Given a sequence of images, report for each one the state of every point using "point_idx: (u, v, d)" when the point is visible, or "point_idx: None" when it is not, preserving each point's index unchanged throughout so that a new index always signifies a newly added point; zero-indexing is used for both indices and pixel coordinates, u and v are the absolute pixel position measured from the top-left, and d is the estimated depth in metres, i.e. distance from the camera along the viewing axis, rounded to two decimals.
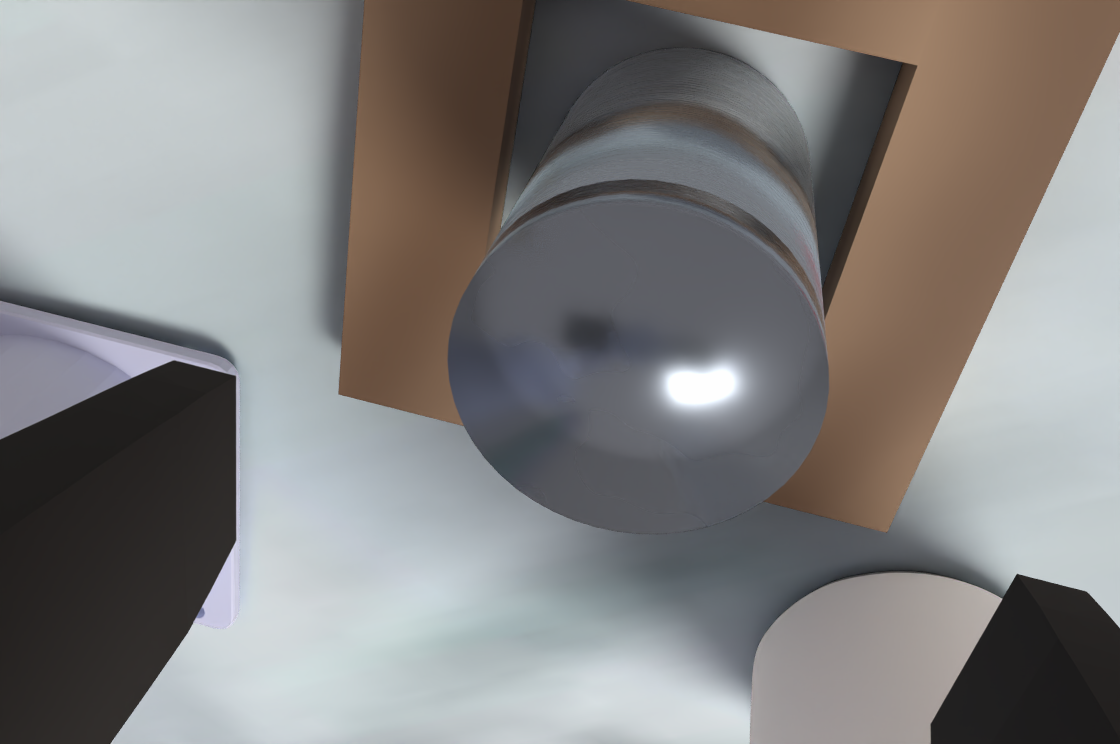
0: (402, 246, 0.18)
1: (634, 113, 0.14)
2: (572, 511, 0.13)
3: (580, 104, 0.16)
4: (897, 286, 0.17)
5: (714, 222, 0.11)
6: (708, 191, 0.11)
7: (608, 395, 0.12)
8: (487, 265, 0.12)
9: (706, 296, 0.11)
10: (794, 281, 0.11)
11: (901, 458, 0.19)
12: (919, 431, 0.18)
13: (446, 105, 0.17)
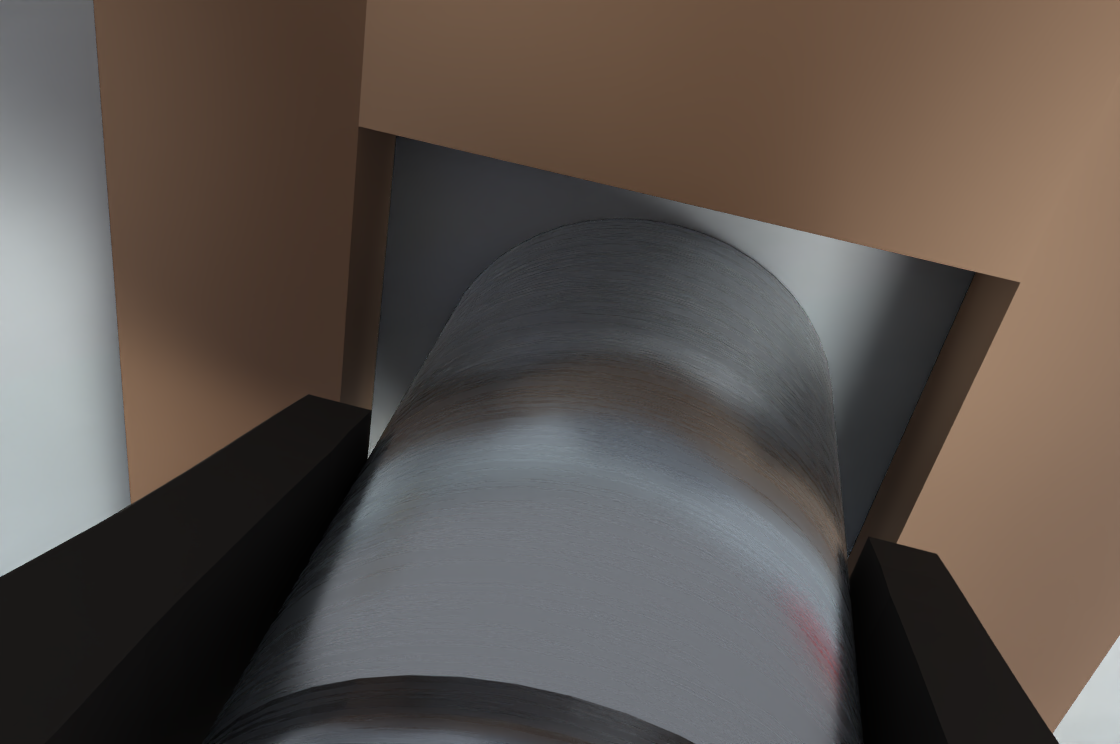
0: None
1: (519, 407, 0.08)
2: None
3: (459, 321, 0.10)
4: (971, 595, 0.11)
5: None
6: (628, 714, 0.05)
7: None
8: None
9: None
10: None
11: None
12: None
13: (251, 312, 0.10)
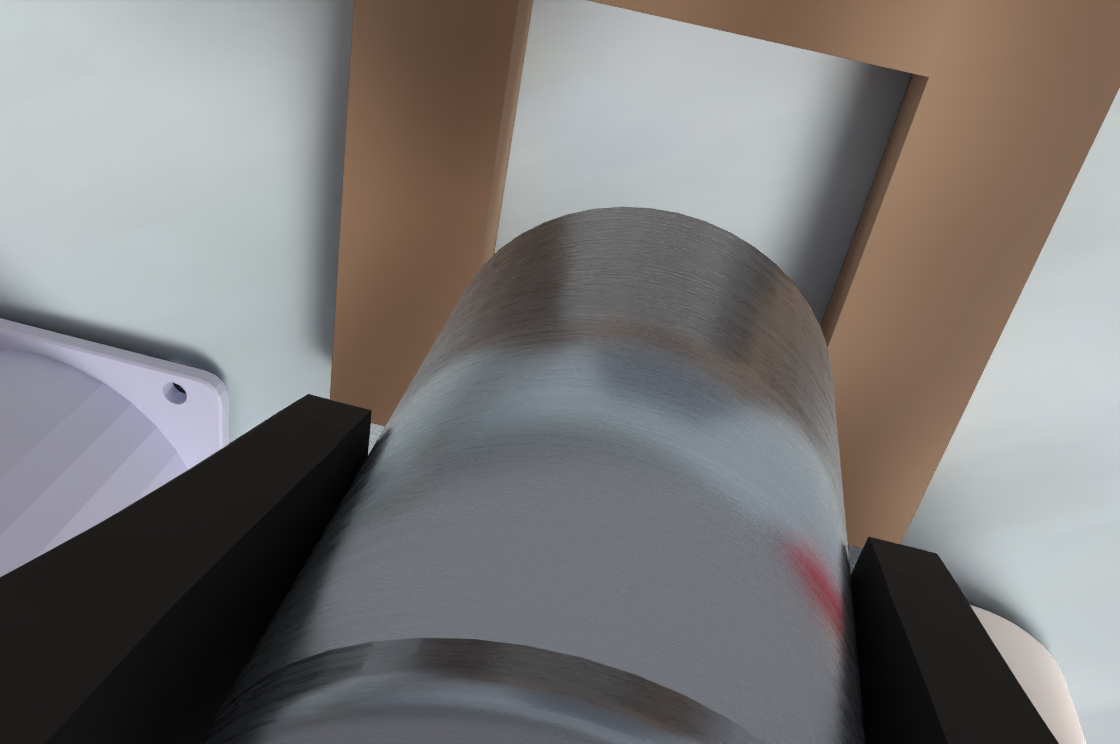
0: (394, 261, 0.18)
1: (527, 385, 0.08)
2: None
3: (466, 307, 0.10)
4: (907, 305, 0.16)
5: None
6: (637, 674, 0.05)
7: None
8: None
9: None
10: None
11: (909, 481, 0.18)
12: (928, 453, 0.18)
13: (438, 116, 0.16)
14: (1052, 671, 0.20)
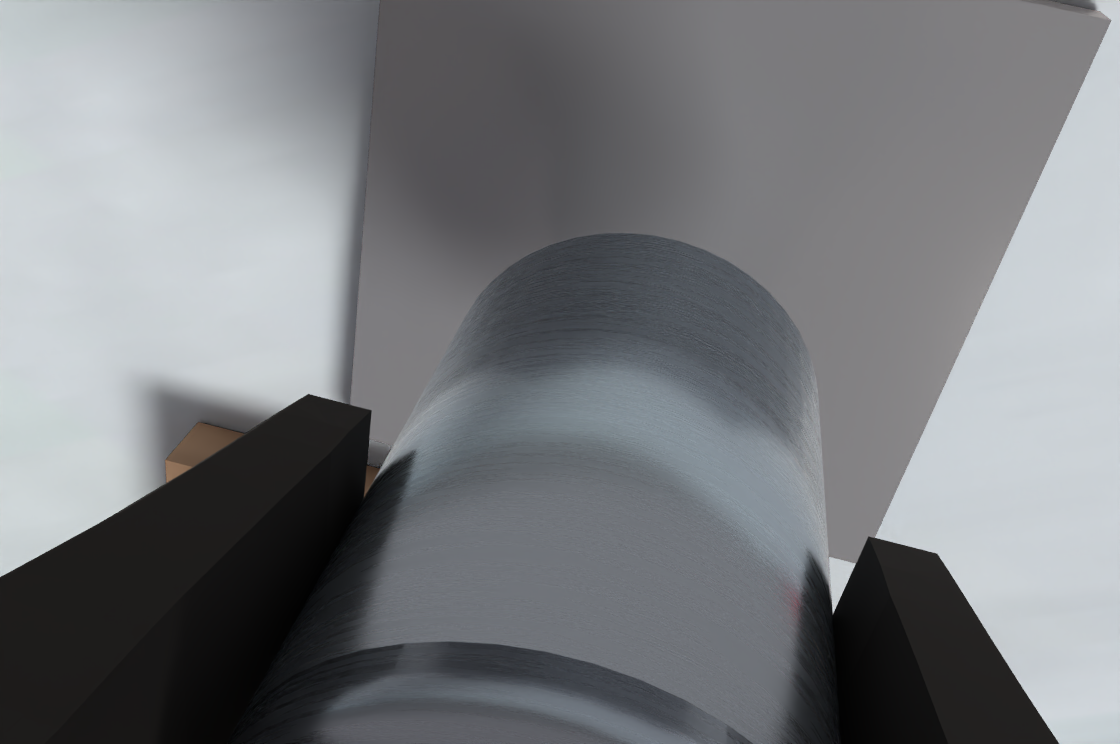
0: None
1: (540, 406, 0.08)
2: None
3: (476, 324, 0.11)
4: None
5: None
6: (641, 681, 0.06)
7: None
8: None
9: None
10: None
11: None
12: None
13: None
14: None
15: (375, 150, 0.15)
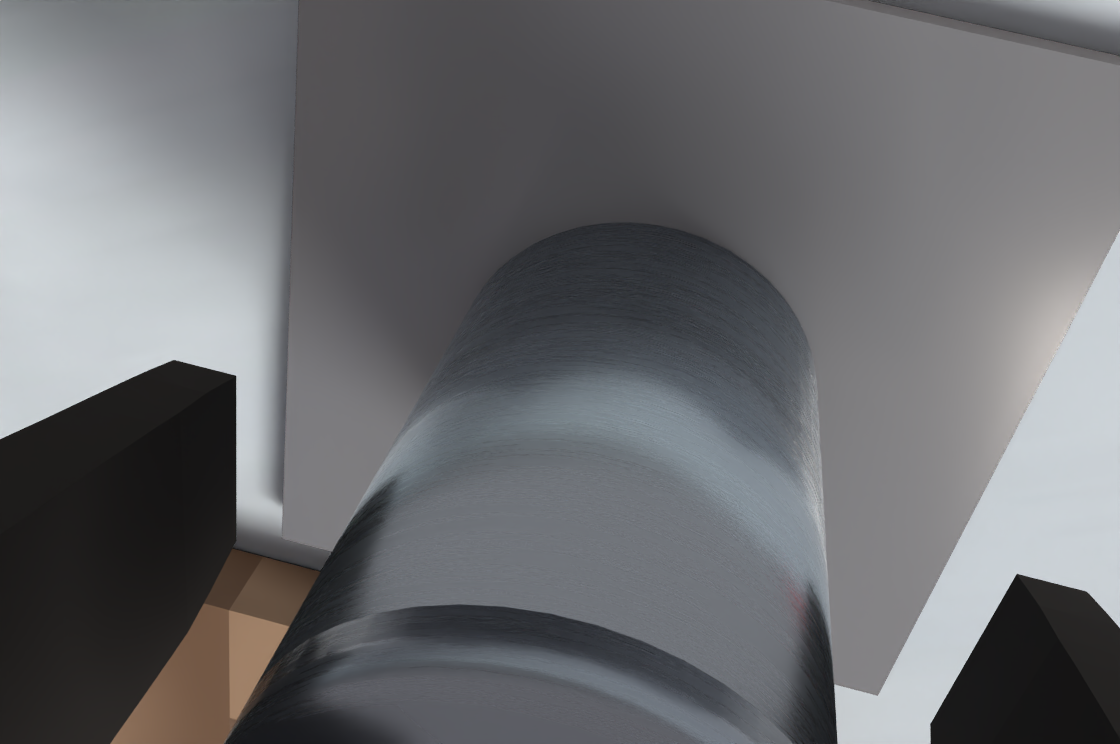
0: None
1: (544, 386, 0.09)
2: None
3: (483, 310, 0.11)
4: None
5: (647, 743, 0.06)
6: (642, 641, 0.06)
7: None
8: None
9: None
10: None
11: None
12: None
13: None
14: None
15: (299, 224, 0.12)
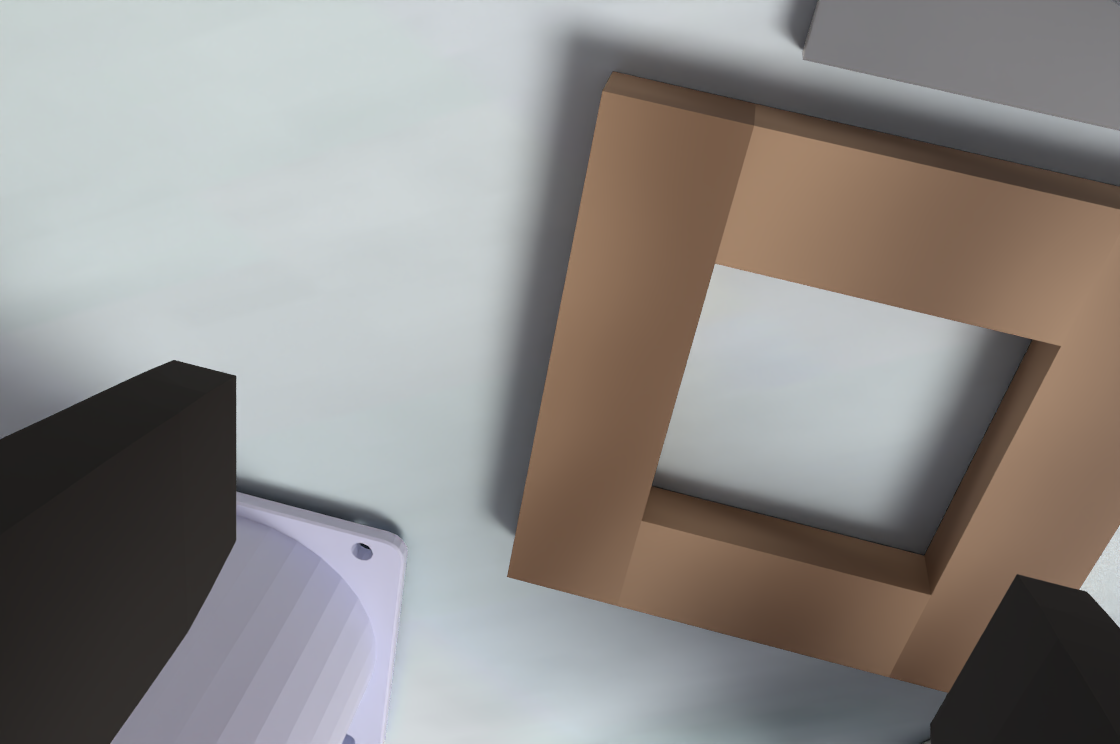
0: (580, 463, 0.20)
1: None
2: None
3: None
4: (1029, 514, 0.19)
5: None
6: None
7: None
8: None
9: None
10: None
11: None
12: None
13: (632, 356, 0.19)
14: None
15: None
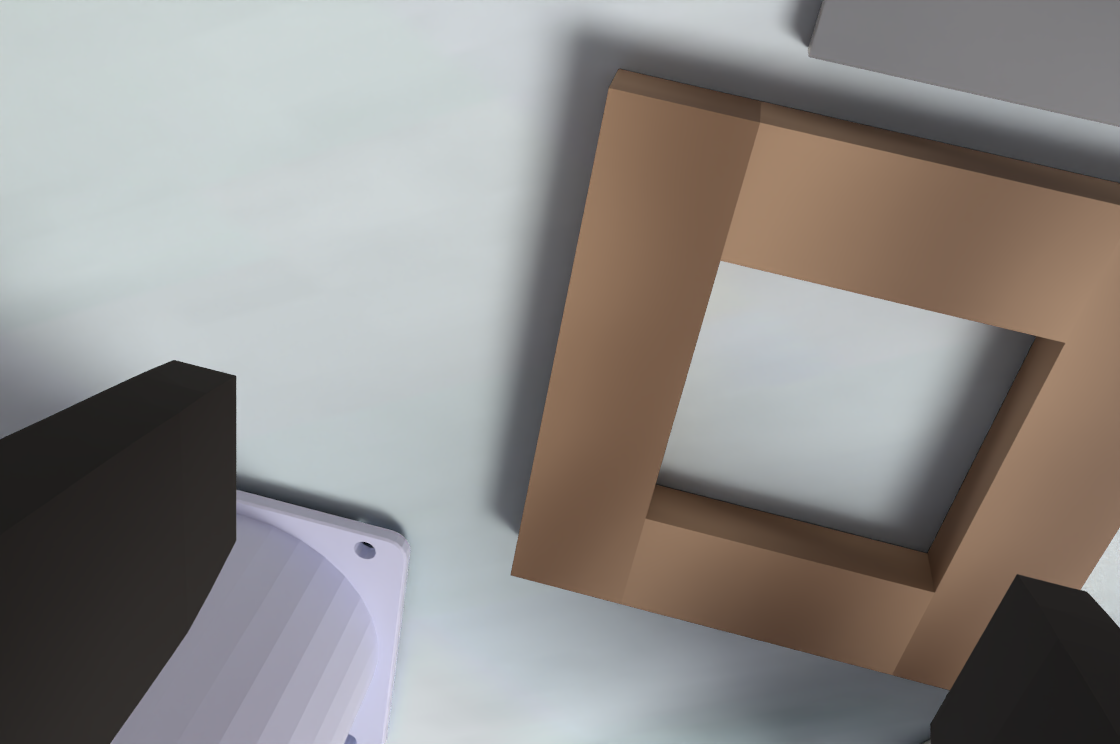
0: (584, 461, 0.20)
1: None
2: None
3: None
4: (1033, 511, 0.19)
5: None
6: None
7: None
8: None
9: None
10: None
11: None
12: None
13: (637, 354, 0.19)
14: None
15: None
